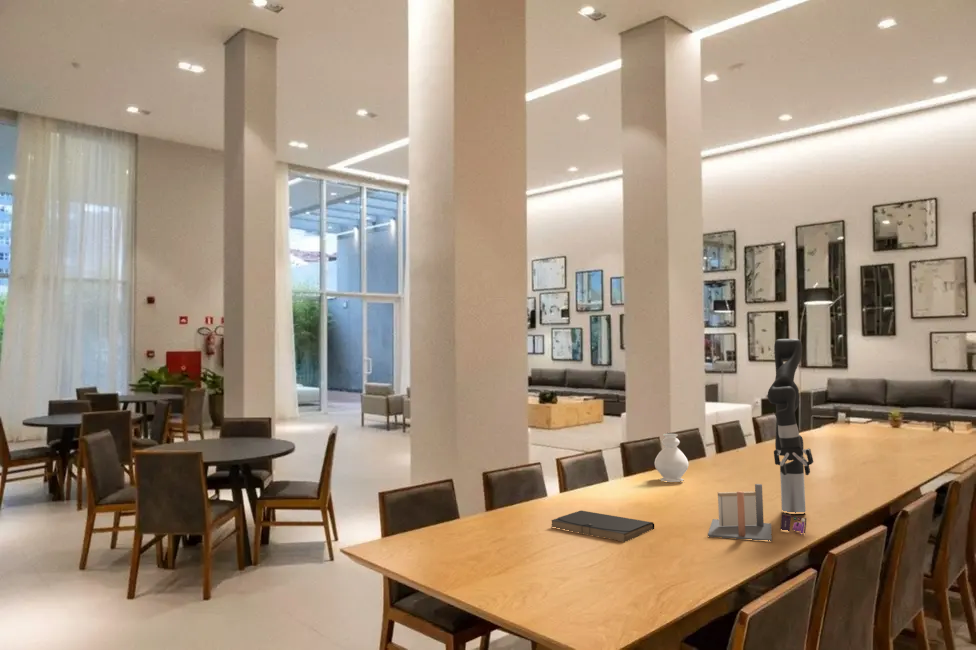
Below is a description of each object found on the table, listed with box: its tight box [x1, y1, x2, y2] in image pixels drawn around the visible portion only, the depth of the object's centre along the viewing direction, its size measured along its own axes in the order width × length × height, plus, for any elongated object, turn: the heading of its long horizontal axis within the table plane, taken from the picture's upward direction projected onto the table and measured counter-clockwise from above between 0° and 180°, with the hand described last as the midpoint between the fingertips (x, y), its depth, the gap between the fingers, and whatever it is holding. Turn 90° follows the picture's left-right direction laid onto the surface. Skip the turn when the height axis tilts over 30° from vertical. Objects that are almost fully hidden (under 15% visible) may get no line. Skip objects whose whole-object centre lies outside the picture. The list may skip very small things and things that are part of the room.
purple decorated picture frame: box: [779, 513, 807, 534], centre depth 247 cm, size 7×5×9 cm
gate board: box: [707, 483, 773, 542], centre depth 250 cm, size 24×22×17 cm
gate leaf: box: [717, 490, 756, 526], centre depth 253 cm, size 14×2×13 cm, turn 92°
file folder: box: [550, 510, 655, 543], centre depth 258 cm, size 33×4×24 cm
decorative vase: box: [654, 433, 689, 483], centre depth 352 cm, size 18×18×25 cm
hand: (796, 474), depth 263 cm, fingers open, 8 cm apart
